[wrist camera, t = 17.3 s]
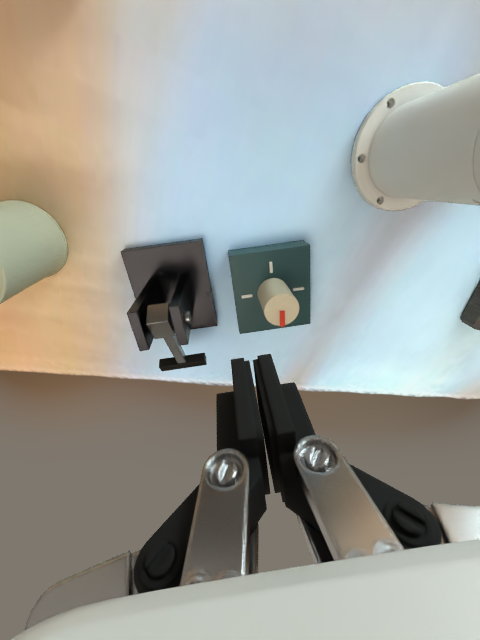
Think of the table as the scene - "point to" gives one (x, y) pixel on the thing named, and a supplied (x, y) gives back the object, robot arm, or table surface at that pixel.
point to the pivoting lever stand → (170, 287)
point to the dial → (277, 302)
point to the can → (28, 247)
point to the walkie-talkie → (473, 310)
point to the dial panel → (265, 264)
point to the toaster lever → (170, 339)
